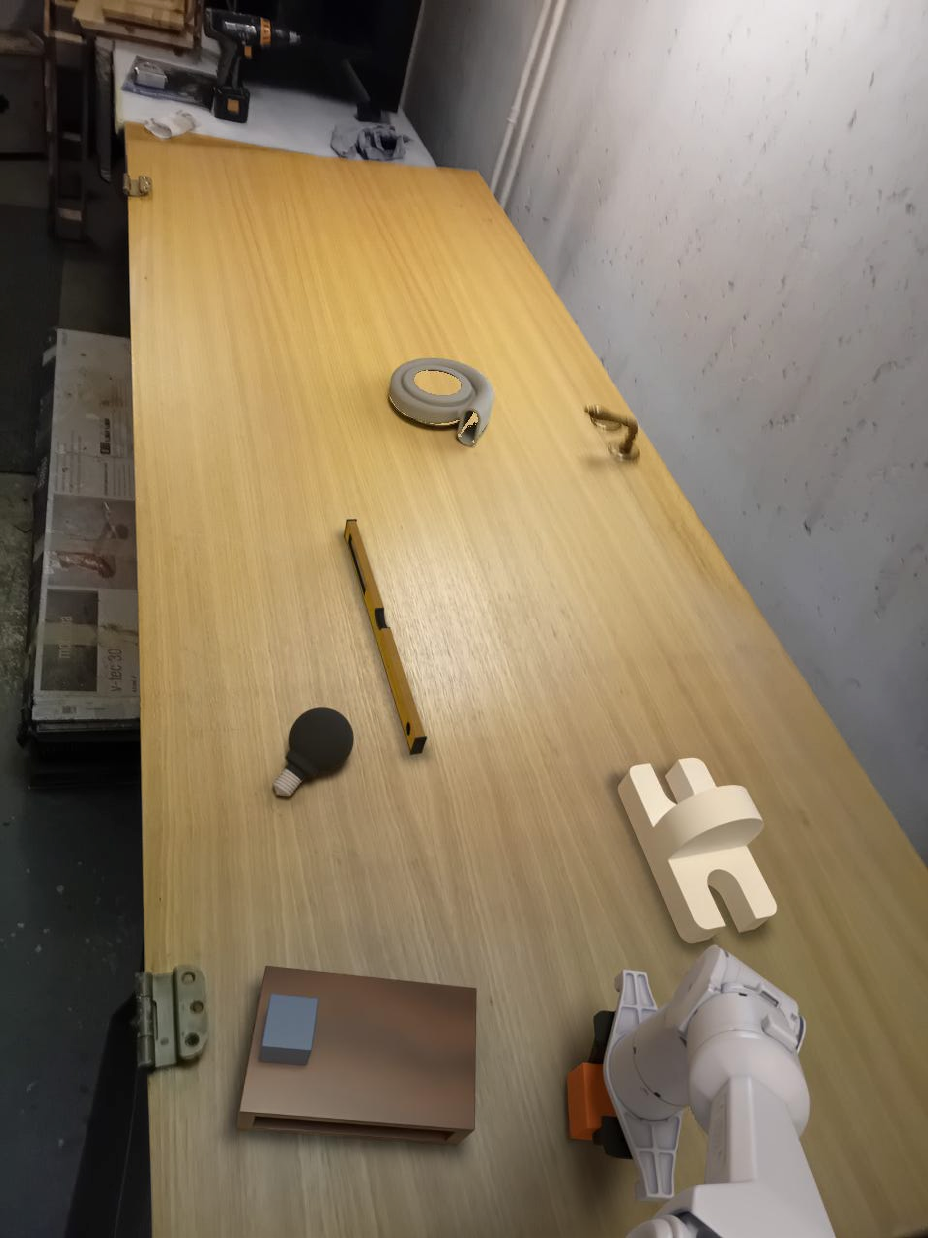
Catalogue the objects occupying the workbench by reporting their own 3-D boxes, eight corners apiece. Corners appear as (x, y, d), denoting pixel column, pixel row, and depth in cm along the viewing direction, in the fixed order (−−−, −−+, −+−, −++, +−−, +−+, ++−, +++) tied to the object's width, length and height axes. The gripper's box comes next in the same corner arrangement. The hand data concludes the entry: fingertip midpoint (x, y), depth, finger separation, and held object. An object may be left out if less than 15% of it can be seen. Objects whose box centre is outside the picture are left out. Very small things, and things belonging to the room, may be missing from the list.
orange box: (623, 1143, 65) (643, 1132, 62) (570, 1138, 64) (587, 1128, 62) (618, 1079, 68) (636, 1067, 65) (566, 1075, 67) (582, 1062, 65)
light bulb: (249, 771, 76) (317, 688, 80) (252, 778, 82) (315, 701, 86) (304, 813, 76) (369, 728, 80) (302, 817, 82) (363, 738, 86)
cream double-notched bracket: (687, 773, 94) (730, 720, 86) (763, 927, 83) (821, 882, 75) (614, 783, 90) (652, 729, 83) (683, 945, 79) (735, 900, 72)
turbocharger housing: (412, 375, 137) (372, 415, 127) (416, 339, 133) (375, 378, 123) (504, 409, 135) (472, 453, 125) (513, 373, 130) (479, 416, 120)
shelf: (456, 1146, 64) (474, 1130, 60) (236, 1129, 61) (238, 1112, 57) (460, 1010, 71) (476, 987, 66) (261, 990, 68) (265, 965, 64)
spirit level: (421, 753, 87) (427, 737, 85) (410, 754, 87) (415, 739, 84) (353, 535, 107) (356, 518, 105) (343, 536, 106) (346, 519, 104)
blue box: (306, 1066, 60) (311, 1051, 57) (258, 1061, 59) (261, 1046, 56) (313, 1015, 62) (319, 998, 59) (267, 1010, 62) (270, 993, 59)
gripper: (749, 1191, 51) (661, 1219, 61) (708, 956, 61) (638, 1012, 71) (643, 1184, 50) (571, 1214, 60) (618, 945, 60) (560, 1004, 70)
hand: (601, 1104), depth 65 cm, fingers closed on orange box, 4 cm apart
